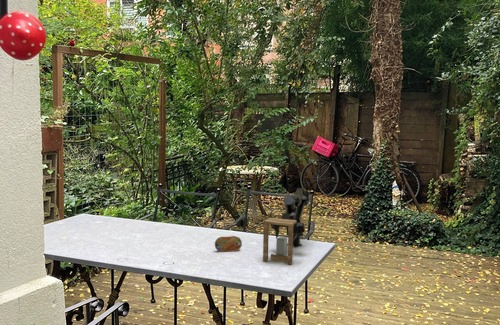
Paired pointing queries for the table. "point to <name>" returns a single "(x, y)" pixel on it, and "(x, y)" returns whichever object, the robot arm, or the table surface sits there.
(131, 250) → the table surface
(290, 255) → the wooden frame
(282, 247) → the slab
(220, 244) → the tin
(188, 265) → the table surface
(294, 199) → the robot arm
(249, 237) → the table surface
